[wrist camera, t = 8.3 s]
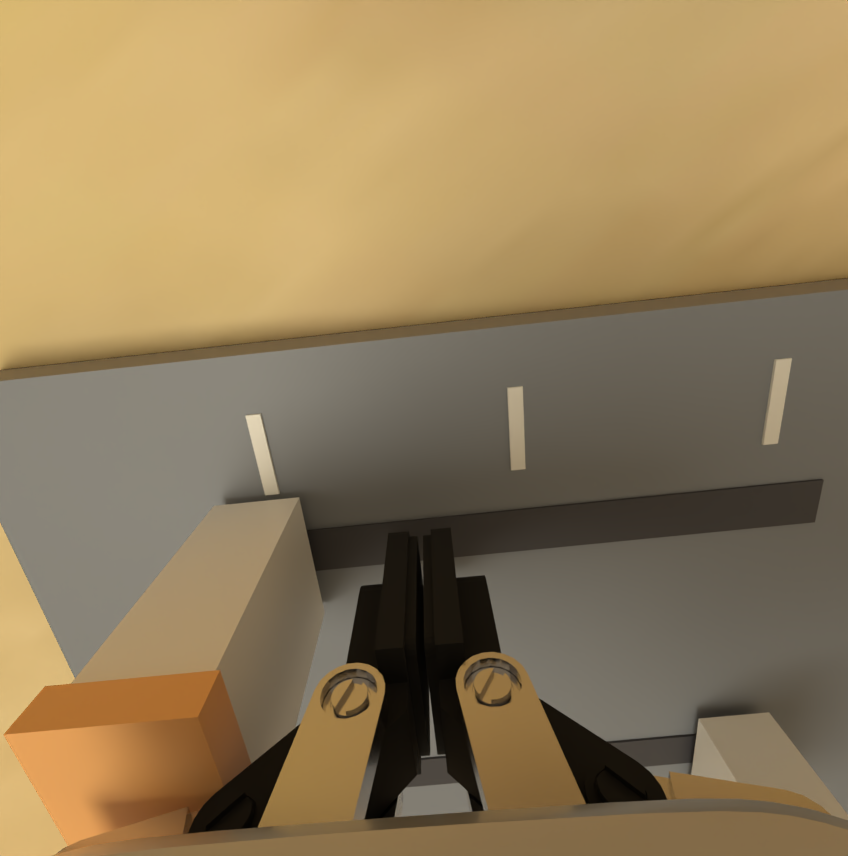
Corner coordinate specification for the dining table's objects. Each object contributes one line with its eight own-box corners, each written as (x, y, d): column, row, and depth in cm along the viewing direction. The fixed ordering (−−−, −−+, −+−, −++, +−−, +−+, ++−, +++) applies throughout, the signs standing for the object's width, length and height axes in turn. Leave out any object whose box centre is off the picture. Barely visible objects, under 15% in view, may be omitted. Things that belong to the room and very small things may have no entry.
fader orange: (304, 490, 13) (197, 717, 7) (332, 616, 15) (266, 901, 8) (204, 500, 13) (3, 734, 7) (242, 625, 15) (107, 913, 8)
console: (951, 266, 14) (1042, 268, 12) (813, 783, 21) (853, 837, 19) (-1, 370, 14) (-68, 388, 12) (197, 836, 22) (176, 893, 20)
